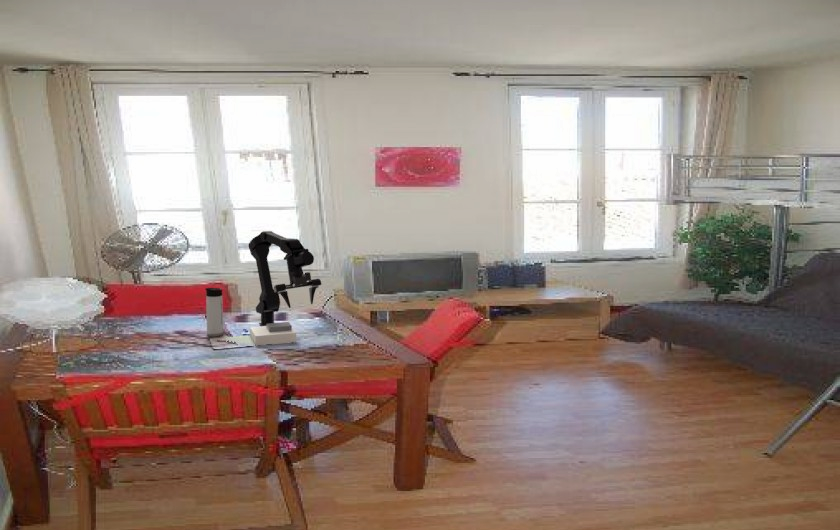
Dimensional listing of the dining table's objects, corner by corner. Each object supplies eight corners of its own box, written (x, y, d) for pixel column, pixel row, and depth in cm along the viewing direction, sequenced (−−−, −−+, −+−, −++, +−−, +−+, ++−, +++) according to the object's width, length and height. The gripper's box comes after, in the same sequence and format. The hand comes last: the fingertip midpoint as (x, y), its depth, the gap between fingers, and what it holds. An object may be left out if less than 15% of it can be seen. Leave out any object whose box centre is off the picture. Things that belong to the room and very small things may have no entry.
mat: (209, 339, 212) (209, 338, 211) (248, 336, 218) (248, 335, 218) (213, 350, 198) (213, 349, 198) (254, 346, 205) (254, 345, 205)
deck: (249, 336, 218) (249, 327, 217) (288, 333, 225) (288, 324, 225) (255, 346, 206) (255, 336, 205) (296, 342, 213) (296, 332, 212)
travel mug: (203, 334, 218) (202, 287, 216) (218, 331, 223) (217, 285, 220) (210, 337, 214) (209, 289, 211) (225, 334, 219) (225, 287, 216)
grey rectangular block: (269, 332, 211) (269, 327, 211) (266, 328, 217) (266, 323, 216) (291, 330, 215) (291, 325, 215) (288, 326, 221) (288, 322, 220)
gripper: (275, 270, 207) (281, 309, 206) (321, 263, 215) (327, 301, 214) (271, 272, 217) (276, 310, 216) (315, 266, 225) (321, 302, 224)
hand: (300, 306), depth 218 cm, fingers open, 9 cm apart
